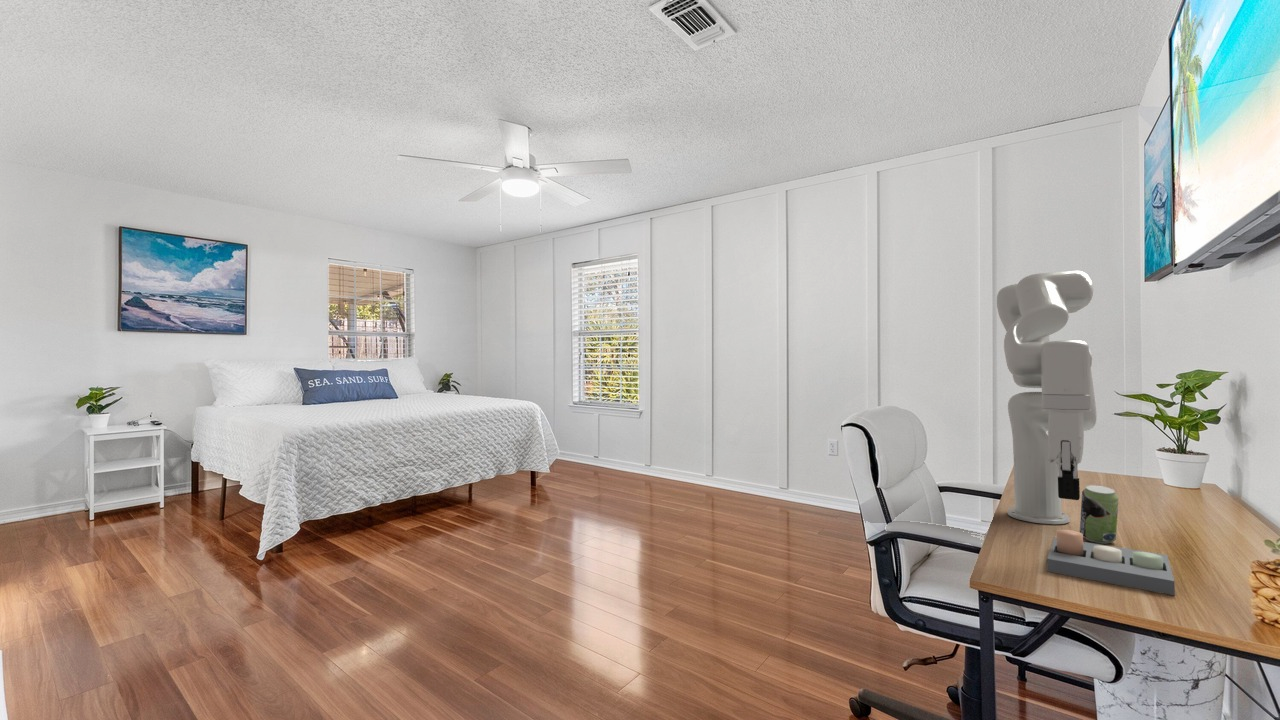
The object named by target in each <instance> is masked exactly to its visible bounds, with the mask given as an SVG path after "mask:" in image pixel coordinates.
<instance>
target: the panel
mask: <svg viewBox="0 0 1280 720" xmlns="http://www.w3.org/2000/svg"><path fill="white" fill-rule="evenodd" d="M1098 545H1100V546H1107V544H1105V545H1104V544H1101V543H1095V542H1086V541H1083V555H1069V554H1064V553H1061V552H1059V551H1057V537H1053V541H1052V544H1051V546H1050V549H1049V552H1048V555H1047V561H1046V562H1047V564H1046V565H1047V572H1048V573H1053V574H1059V575H1065V576H1068V577H1069V576H1070V577H1075V578H1081V579H1086V580H1090V581H1096V582H1101V583H1102V582H1103V583H1107V584H1111V585H1118V586H1122V587H1128V588H1132V589H1138V588H1140V589H1139V590H1143V589H1145V590H1144V591H1148V590H1150V592H1154V593H1158V594H1159V593H1160V594H1164V593H1165V595H1171V596H1176V591H1175V584H1176V583H1175V578H1174V575H1173V570H1172V567H1171V564H1170V560H1169V556H1168V554H1164V553H1158V552H1150V551H1147V552H1148V553H1153V554H1156V555H1159V556H1161V557H1163V570H1157V569H1151V568H1145V567H1139V566H1133V554H1132V553H1133V552H1146V551H1144V550H1139V549H1138V550H1136V549H1132V548H1125V547H1118V546H1113V545H1108V546H1109V547H1114V548H1117V549H1119V550H1121V551H1122V563H1116V562H1110V561H1104V560H1098V559H1094V551H1093V547H1094V546H1098Z"/></svg>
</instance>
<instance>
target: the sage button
mask: <svg viewBox="0 0 1280 720" xmlns="http://www.w3.org/2000/svg"><path fill="white" fill-rule="evenodd" d="M1148 552H1149V551H1145V552H1133V553H1132V554H1133V566H1139V567H1145V568H1151V569H1157V570H1163V557H1161V556H1159V555H1156V554H1153V553H1154V552H1152V553H1148Z"/></svg>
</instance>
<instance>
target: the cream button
mask: <svg viewBox="0 0 1280 720" xmlns="http://www.w3.org/2000/svg"><path fill="white" fill-rule="evenodd" d="M1100 545H1101V544H1100ZM1100 545H1098V546H1094V547H1093V551H1094V559H1098V560H1104V561H1110V562H1116V563H1122V551H1121V550H1119V549H1117V548H1114V547H1115V546H1113V547H1109V546H1110V545H1106V546H1100Z"/></svg>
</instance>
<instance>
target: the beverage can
mask: <svg viewBox="0 0 1280 720" xmlns="http://www.w3.org/2000/svg"><path fill="white" fill-rule="evenodd" d="M1080 504H1081V505H1080V507H1081V508H1080V521H1079V522H1080V524H1079V532H1080V533H1082V534H1083V538H1085V540H1087V541H1089V542H1091V543H1095V544H1100V545H1104V544H1105V545H1108V544H1110V543H1113V542H1115V541H1117V540H1116V539H1117V526H1118V525H1117V524H1118V511H1119V496H1118V494H1117V493H1116V490H1115V489H1113V488H1112V487H1108V486H1105V485H1100V484H1099V485H1098V484H1089V485H1088V484H1087V485H1086V486H1085V488H1084V489H1083V490H1082V491H1081V503H1080Z"/></svg>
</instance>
